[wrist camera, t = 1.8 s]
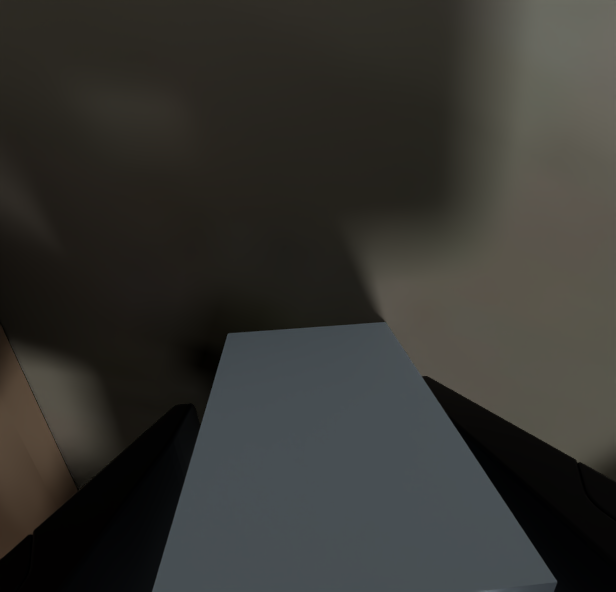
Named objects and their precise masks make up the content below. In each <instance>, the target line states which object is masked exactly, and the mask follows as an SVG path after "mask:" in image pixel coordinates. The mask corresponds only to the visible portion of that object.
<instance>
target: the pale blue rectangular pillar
mask: <svg viewBox="0 0 616 592" xmlns="http://www.w3.org/2000/svg"><path fill="white" fill-rule="evenodd" d="M556 584H557V580H556V579H555V577H554V576H553V574H552V573H551V571H550V570H549V568H548V567H547V565H546V564H545V562H544V561H543V559H542V558H541V556H540V555H539V553H538V552H537V550H536V549H535V547H534V546H533V544H532V543H531V541H530V540H529V538H528V537H527V535H526V534H525V532H524V531H523V529H522V528H521V526H520V524H519V523H518V521H517V520H516V518H515V517H514V515H513V514H512V512H511V511H510V509H509V508H508V506H507V505H506V503H505V502H504V500H503V499H502V497H501V496H500V494H499V493H498V491H497V490H496V488H495V487H494V485H493V484H492V482H491V481H490V479H489V478H488V476H487V475H486V473H485V472H484V470H483V469H482V467H481V465H480V464H479V462H478V461H477V459H476V458H475V456H474V455H473V453H472V452H471V450H470V449H469V447H468V446H467V444H466V443H465V441H464V440H463V438H462V437H461V435H460V434H459V432H458V431H457V429H456V428H455V426H454V425H453V423H452V422H451V420H450V419H449V417H448V416H447V414H446V413H445V411H444V409H443V408H442V406H441V405H440V403H439V402H438V400H437V399H436V397H435V396H434V394H433V393H432V391H431V390H430V388H429V387H428V385H427V384H426V382H425V381H424V379H423V378H422V376H421V375H420V373H419V372H418V370H417V369H416V367H415V366H414V364H413V363H412V361H411V360H410V358H409V357H408V355H407V354H406V352H405V350H404V349H403V347H402V346H401V344H400V343H399V341H398V340H397V338H396V337H395V335H394V334H393V332H392V331H391V329H390V328H389V326H388V325H387V323H386V322H378V323H364V324H350V325H336V326H323V327H309V328H295V329H281V330H267V331H253V332H240V333H228V335H227V338H226V341H225V345H224V348H223V352H222V355H221V358H220V362H219V365H218V369H217V372H216V375H215V379H214V382H213V386H212V389H211V393H210V396H209V399H208V403H207V406H206V410H205V413H204V416H203V420H202V423H201V427H200V430H199V433H198V437H197V440H196V444H195V447H194V451H193V454H192V457H191V461H190V464H189V468H188V471H187V474H186V478H185V481H184V485H183V488H182V491H181V495H180V498H179V502H178V505H177V508H176V512H175V515H174V519H173V522H172V526H171V529H170V532H169V536H168V539H167V543H166V546H165V549H164V553H163V556H162V560H161V563H160V566H159V570H158V573H157V577H156V580H155V583H154V587H153V590H152V592H554V590H555V587H556Z"/></svg>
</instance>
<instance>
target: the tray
mask: <svg viewBox="0 0 616 592" xmlns="http://www.w3.org/2000/svg"><path fill="white" fill-rule="evenodd" d="M77 491H78V490H77V488H76V486H75V484H74V481H73V479H72V477H71V475H70V473H69V471H68V468H67V466H66V464H65V462H64V460H63V458H62V456H61V453H60V451H59V449H58V447H57V445H56V443H55V440H54V438H53V436H52V434H51V432H50V430H49V428H48V425H47V423H46V421H45V419H44V417H43V415H42V412H41V410H40V408H39V406H38V404H37V402H36V400H35V397H34V395H33V393H32V391H31V389H30V387H29V384H28V382H27V380H26V378H25V376H24V374H23V372H22V369H21V367H20V365H19V363H18V361H17V359H16V356H15V354H14V352H13V350H12V348H11V346H10V344H9V341H8V339H7V337H6V335H5V333H4V331H3V328H2V326H1V324H0V559H1V558H2V557H4V556H5V555H6V554H7V553H8V552H9V551H10V550H12V549H13V548H14V547H15V546H16V545H17V544H18V543H19V542H21V541H22V540H23V539H24V538H25V537H26V536H27V535H29V534H32V535H33V531H34V529H35V528H37V527H38V526H39V525H40V524H41V523H42V522H43V521H45V520H46V519H47V518H48V517H49V516H50V515H51V514H53V513H54V512H55V511H56V510H57V509H58V508H59V507H60V506H62V505H63V504H64V503H65V502H66V501H67V500H68V499H70V498H71V497H72V496H73V495H74V494H75V493H76V492H77Z"/></svg>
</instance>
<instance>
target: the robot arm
mask: <svg viewBox="0 0 616 592" xmlns="http://www.w3.org/2000/svg"><path fill="white" fill-rule="evenodd" d="M422 378H423V379H424V381H425V382H426V384H427V385H428V387H429V388H430V390H431V391H432V393H433V394H434V396H435V397H436V399H437V400H438V402H439V403H440V405H441V406H442V408H443V409H444V411H445V413H446V414H447V416H448V417H449V419H450V420H451V422H452V423H453V425H454V426H455V428H456V429H457V431H458V432H459V434H460V435H461V437H462V438H463V440H464V441H465V443H466V444H467V446H468V447H469V449H470V450H471V452H472V453H473V455H474V456H475V458H476V459H477V461H478V462H479V464H480V465H481V467H482V469H483V470H484V472H485V473H486V475H487V476H488V478H489V479H490V481H491V482H492V484H493V485H494V487H495V488H496V490H497V491H498V493H499V494H500V496H501V497H502V499H503V500H504V502H505V503H506V505H507V506H508V508H509V509H510V511H511V512H512V514H513V515H514V517H515V518H516V520H517V521H518V523H519V524H520V526H521V528H522V529H523V531H524V532H525V534H526V535H527V537H528V538H529V540H530V541H531V543H532V544H533V546H534V547H535V549H536V550H537V552H538V553H539V555H540V556H541V558H542V559H543V561H544V562H545V564H546V565H547V567H548V568H549V570H550V571H551V573H552V574H553V576H554V577H555V579H556V580H557V584H556V587H555V590H554V592H616V482H615V481H613V480H612V479H610V478H608V477H606V476H604V475H602V474H601V473H599V472H597V471H595V470H594V469H592V468H590V467H588V466H586V465H585V464H583V463H581V462H579V463H577V461H576V460H575V459H574V458H572V457H570V456H568V455H567V454H565V453H563V452H561V451H560V450H558V449H556V448H554V447H552V446H551V445H549V444H547V443H545V442H544V441H542V440H540V439H538V438H536V437H535V436H533V435H531V434H529V433H528V432H526V431H524V430H522V429H520V428H519V427H517V426H515V425H513V424H512V423H510V422H508V421H506V420H504V419H503V418H501V417H499V416H497V415H496V414H494V413H492V412H490V411H488V410H487V409H485V408H483V407H481V406H480V405H478V404H476V403H474V402H472V401H471V400H469V399H467V398H465V397H464V396H462V395H460V394H458V393H456V392H455V391H453V390H451V389H449V388H448V387H446V386H444V385H442V384H440V383H439V382H437V381H435V380H433V379H432V378H430V377H428V376H422ZM199 430H200V424H199V420H198V416H197V412H196V408H195V406H194V405H193V404H192V403H189V404H180V405H175V406H174V407H173V408H171V409H170V410H169V411H168V412H167V413H166V414H165V415H164V416H162V417H161V418H160V419H159V420H158V421H157V422H156V423H154V424H153V425H152V426H151V427H150V428H149V429H148V430H147V431H145V432H144V433H143V434H142V435H141V436H140V437H139V438H137V439H136V440H135V441H134V442H133V443H132V444H131V445H130V446H128V447H127V448H126V449H125V450H124V451H123V452H122V453H120V454H119V455H118V456H117V457H116V458H115V459H114V460H113V461H111V462H110V463H109V464H108V465H107V466H106V467H105V468H103V469H102V470H101V471H100V472H99V473H98V474H97V475H96V476H94V477H93V478H92V479H91V480H90V481H89V482H88V483H86V484H85V485H84V486H83V487H82V488H81V489H80V490H79V491H77V492H76V493H75V494H74V495H73V496H72V497H71V498H70V499H68V500H67V501H66V502H65V503H64V504H63V505H62V506H60V507H59V508H58V509H57V510H56V511H55V512H54V513H53V514H51V515H50V516H49V517H48V518H47V519H46V520H45V521H43V522H42V523H41V524H40V525H39V526H38V527H37V528H35V529H34V531H33V535H32V534H29V535H27V536H26V537H25V538H24V539H23V540H22V541H21V542H19V543H18V544H17V545H16V546H15V547H14V548H13V549H12V550H10V551H9V552H8V553H7V554H6V555H5V556H4V557H2V558H1V559H0V592H152V590H153V587H154V583H155V580H156V577H157V573H158V570H159V566H160V563H161V560H162V556H163V553H164V549H165V546H166V543H167V539H168V536H169V532H170V529H171V526H172V522H173V519H174V515H175V512H176V508H177V505H178V502H179V498H180V495H181V491H182V488H183V485H184V481H185V478H186V474H187V471H188V468H189V464H190V461H191V457H192V454H193V451H194V447H195V444H196V440H197V437H198V433H199Z"/></svg>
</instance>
